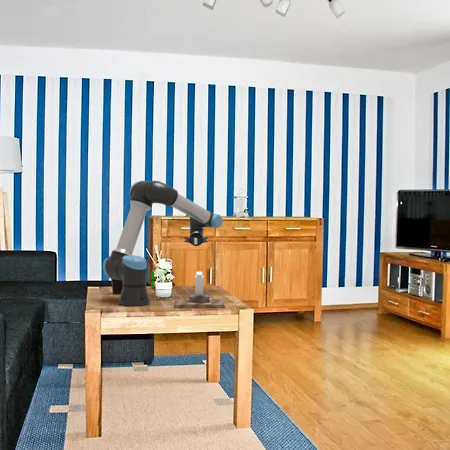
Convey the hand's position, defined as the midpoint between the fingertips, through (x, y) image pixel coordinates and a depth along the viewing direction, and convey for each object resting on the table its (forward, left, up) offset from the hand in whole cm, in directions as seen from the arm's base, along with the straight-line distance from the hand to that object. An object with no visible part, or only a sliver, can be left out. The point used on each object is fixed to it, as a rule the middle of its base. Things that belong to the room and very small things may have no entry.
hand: (195, 241), depth 324 cm
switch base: (+2, -16, -30) cm, 34 cm away
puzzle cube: (-20, +44, -30) cm, 57 cm away
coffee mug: (-42, +24, -30) cm, 57 cm away
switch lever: (+2, -16, -25) cm, 30 cm away
